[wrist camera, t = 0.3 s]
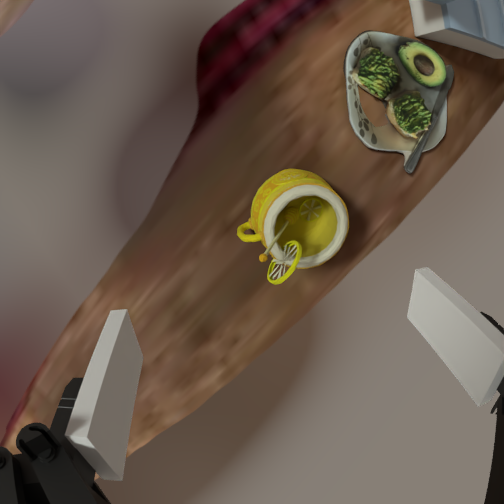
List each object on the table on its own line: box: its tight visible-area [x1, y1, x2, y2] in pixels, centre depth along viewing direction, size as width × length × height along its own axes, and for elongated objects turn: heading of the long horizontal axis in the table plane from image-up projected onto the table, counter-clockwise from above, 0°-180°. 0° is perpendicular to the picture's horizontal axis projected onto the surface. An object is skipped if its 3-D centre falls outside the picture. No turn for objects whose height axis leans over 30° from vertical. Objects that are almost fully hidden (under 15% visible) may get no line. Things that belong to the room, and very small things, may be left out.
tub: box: [409, 0, 504, 59], centre depth 28 cm, size 12×18×7 cm, turn 95°
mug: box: [237, 169, 349, 285], centre depth 36 cm, size 13×11×12 cm
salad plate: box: [344, 31, 454, 173], centre depth 35 cm, size 19×18×5 cm
